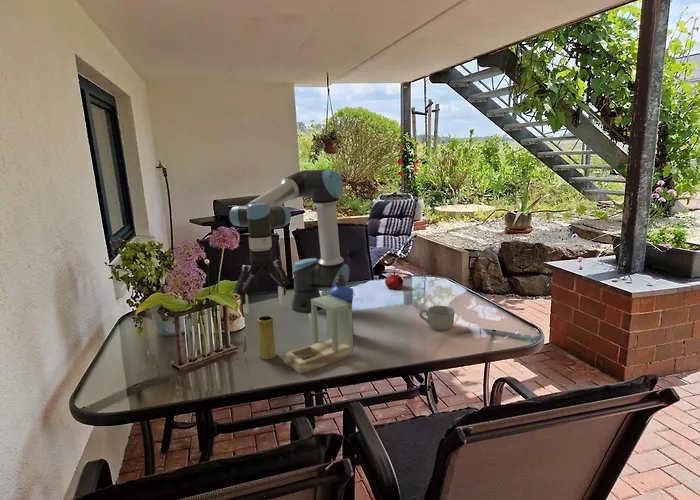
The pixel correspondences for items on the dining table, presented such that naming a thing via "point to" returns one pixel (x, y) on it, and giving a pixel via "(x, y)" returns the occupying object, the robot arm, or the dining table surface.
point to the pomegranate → (394, 281)
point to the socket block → (316, 355)
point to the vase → (266, 338)
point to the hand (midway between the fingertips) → (264, 308)
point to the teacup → (439, 317)
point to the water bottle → (342, 291)
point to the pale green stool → (334, 320)
